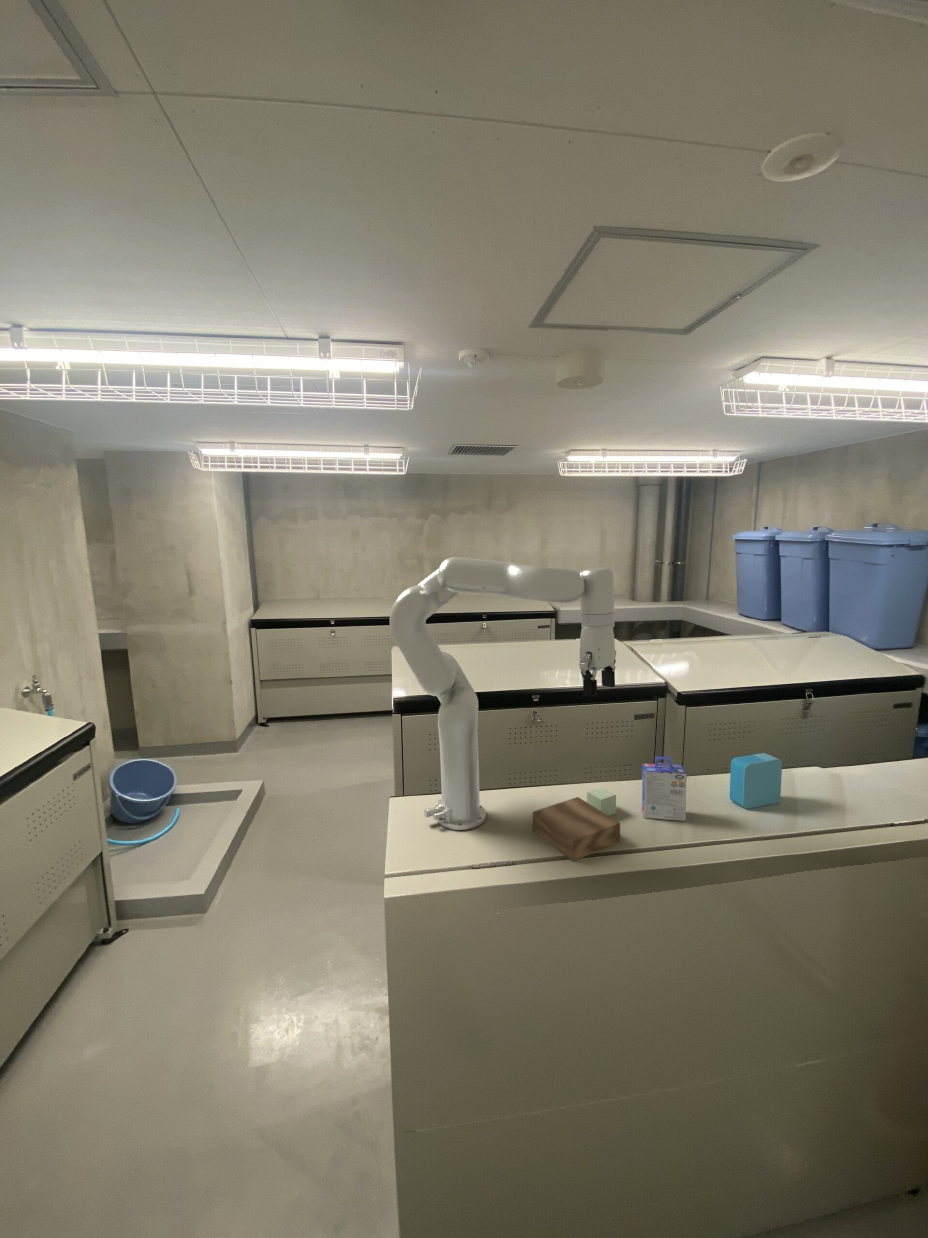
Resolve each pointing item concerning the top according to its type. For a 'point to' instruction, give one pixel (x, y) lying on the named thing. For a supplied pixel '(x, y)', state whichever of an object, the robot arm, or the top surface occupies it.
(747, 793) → the blue rounded block
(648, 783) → the ink cartridge box
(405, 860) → the top surface
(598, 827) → the walnut block
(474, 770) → the robot arm
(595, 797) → the sage cube
